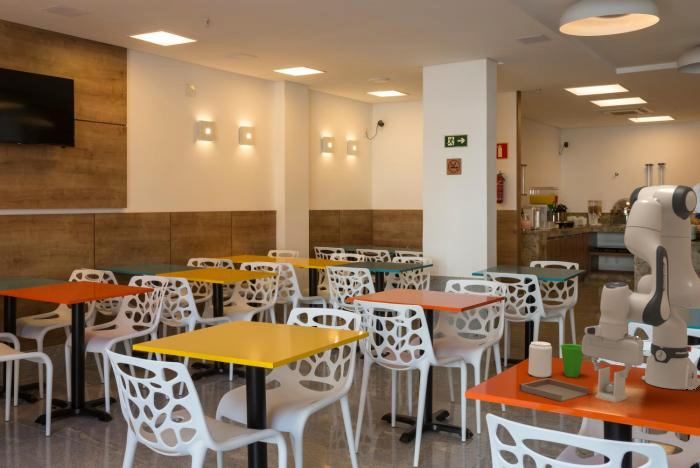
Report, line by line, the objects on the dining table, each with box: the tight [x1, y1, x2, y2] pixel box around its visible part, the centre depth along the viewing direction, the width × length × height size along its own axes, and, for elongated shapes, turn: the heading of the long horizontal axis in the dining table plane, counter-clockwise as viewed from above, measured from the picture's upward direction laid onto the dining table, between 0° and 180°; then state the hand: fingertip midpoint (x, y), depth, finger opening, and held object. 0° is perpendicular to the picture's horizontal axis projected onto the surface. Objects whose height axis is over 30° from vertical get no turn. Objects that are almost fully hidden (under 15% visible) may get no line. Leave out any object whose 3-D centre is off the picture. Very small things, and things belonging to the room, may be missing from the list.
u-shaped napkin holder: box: [595, 366, 628, 403], centre depth 223 cm, size 7×7×10 cm
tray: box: [518, 377, 590, 402], centre depth 228 cm, size 16×16×2 cm
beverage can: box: [528, 340, 553, 379], centre depth 251 cm, size 8×8×12 cm
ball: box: [605, 381, 614, 395], centre depth 223 cm, size 4×4×4 cm
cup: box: [560, 343, 585, 378], centre depth 252 cm, size 9×9×11 cm
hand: (610, 374), depth 222 cm, fingers open, 8 cm apart
